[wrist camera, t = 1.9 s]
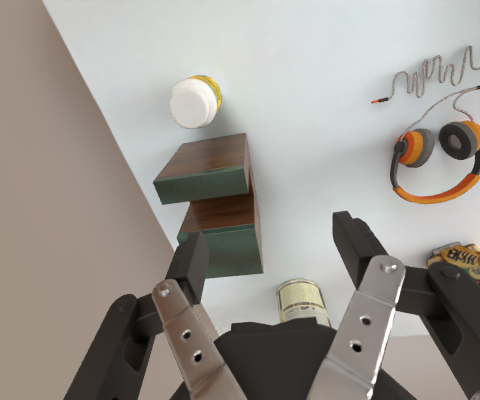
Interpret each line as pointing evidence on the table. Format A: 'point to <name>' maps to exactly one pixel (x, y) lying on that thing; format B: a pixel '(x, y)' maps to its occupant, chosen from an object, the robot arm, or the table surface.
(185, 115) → the supplement bottle
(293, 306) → the coffee can
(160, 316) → the robot arm
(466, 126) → the headphones
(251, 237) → the notched wooden block
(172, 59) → the table surface
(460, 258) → the decorative figurine
